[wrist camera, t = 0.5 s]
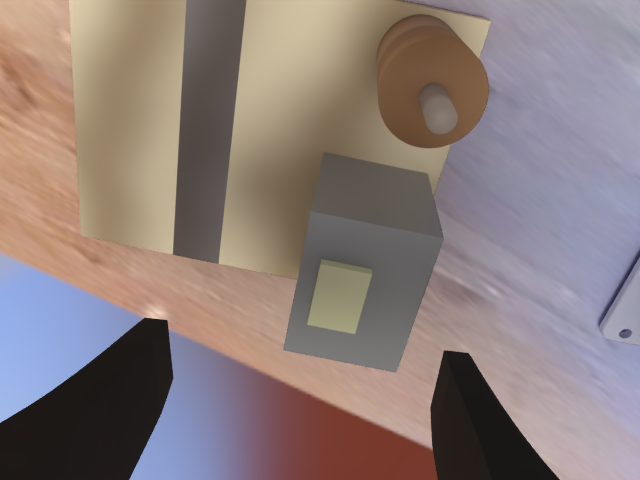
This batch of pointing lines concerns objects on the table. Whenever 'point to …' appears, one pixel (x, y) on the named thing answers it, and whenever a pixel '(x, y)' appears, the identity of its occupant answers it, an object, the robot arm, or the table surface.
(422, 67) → the awl
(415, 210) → the block
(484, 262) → the table surface
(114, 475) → the robot arm
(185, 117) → the plywood panel
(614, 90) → the table surface
